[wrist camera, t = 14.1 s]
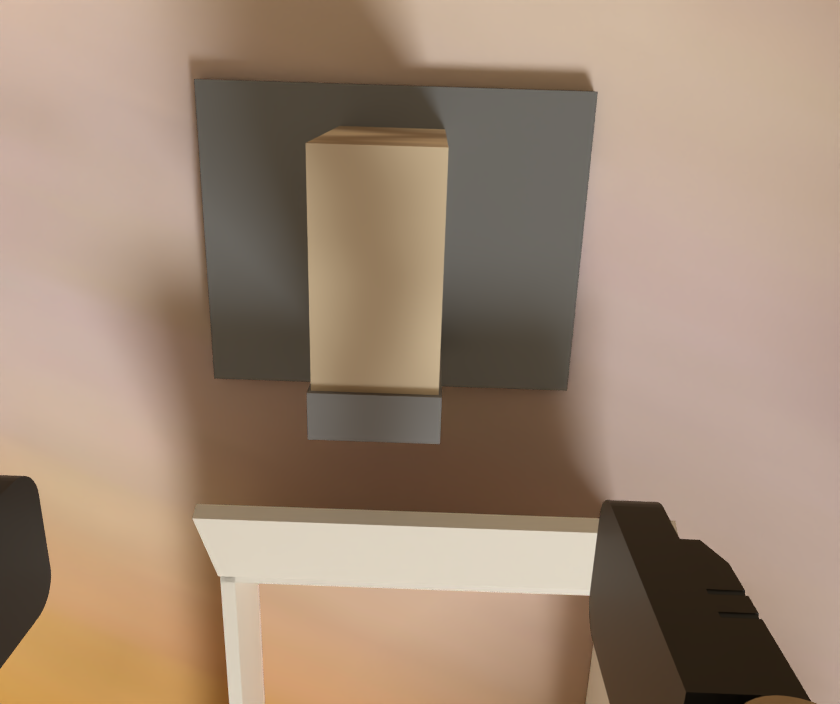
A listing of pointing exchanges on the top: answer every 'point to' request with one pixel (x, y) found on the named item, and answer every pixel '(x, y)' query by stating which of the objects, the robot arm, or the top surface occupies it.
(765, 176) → the top surface
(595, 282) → the top surface
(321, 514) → the carton
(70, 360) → the top surface
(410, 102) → the mat
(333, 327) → the capped box
